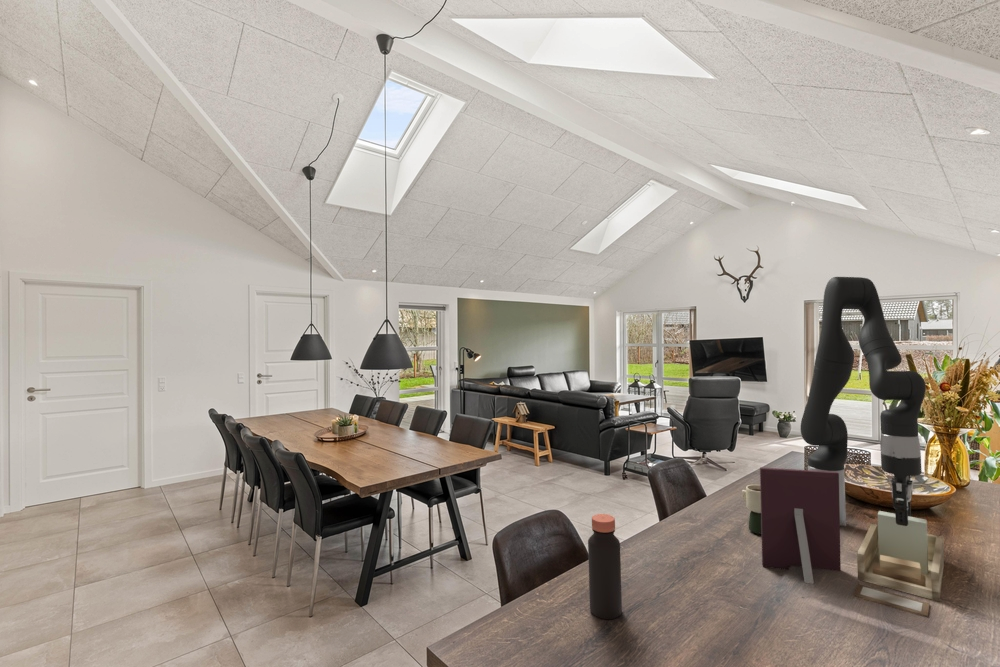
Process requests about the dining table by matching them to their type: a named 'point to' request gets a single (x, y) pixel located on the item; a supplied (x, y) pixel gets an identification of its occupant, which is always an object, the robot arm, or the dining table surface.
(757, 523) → the character mug
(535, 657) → the dining table surface
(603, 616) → the bottle
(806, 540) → the picture frame
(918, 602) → the board
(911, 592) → the tray
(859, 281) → the robot arm
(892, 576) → the offcut lower
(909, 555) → the pale green slanted prism
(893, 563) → the offcut upper
